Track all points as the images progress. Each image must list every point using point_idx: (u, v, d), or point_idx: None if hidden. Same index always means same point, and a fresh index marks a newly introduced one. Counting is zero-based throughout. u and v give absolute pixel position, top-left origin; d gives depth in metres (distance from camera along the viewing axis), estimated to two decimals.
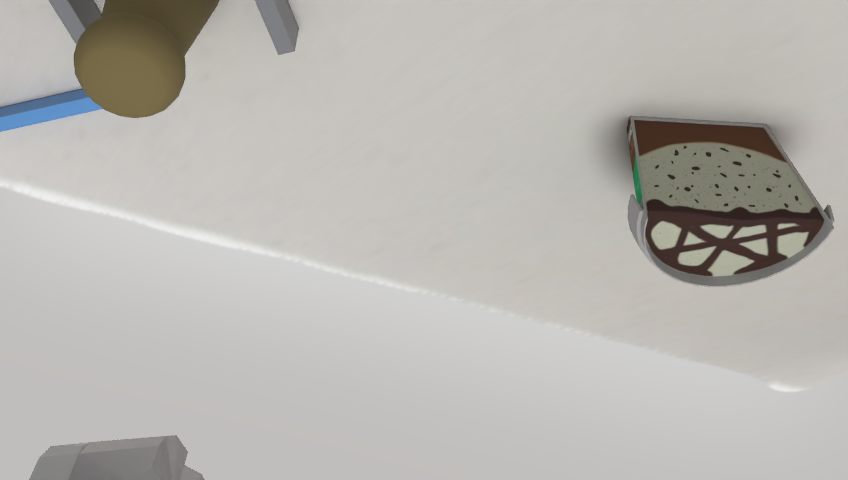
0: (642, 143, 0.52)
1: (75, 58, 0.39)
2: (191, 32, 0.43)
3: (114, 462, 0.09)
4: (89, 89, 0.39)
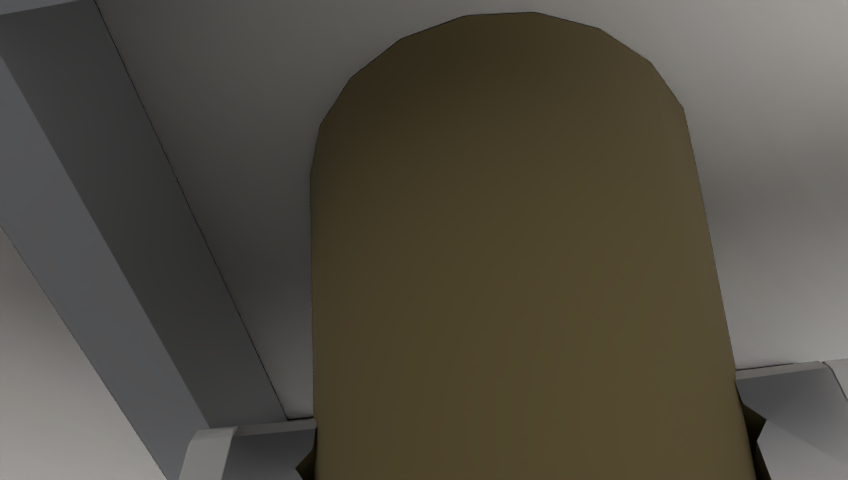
0: None
1: None
2: (600, 362, 0.07)
3: (271, 445, 0.09)
4: None
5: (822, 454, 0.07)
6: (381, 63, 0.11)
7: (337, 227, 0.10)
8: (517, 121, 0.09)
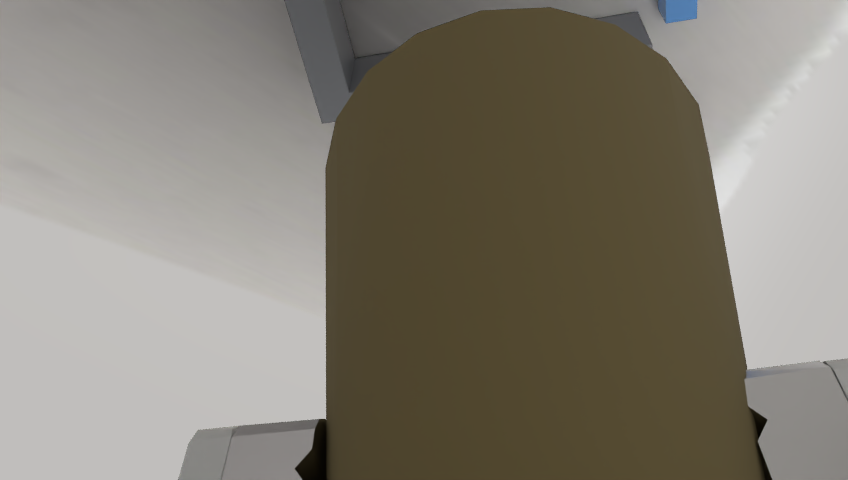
0: None
1: None
2: (610, 353, 0.07)
3: (270, 445, 0.09)
4: None
5: (824, 453, 0.07)
6: (397, 57, 0.11)
7: (351, 217, 0.10)
8: (531, 114, 0.10)
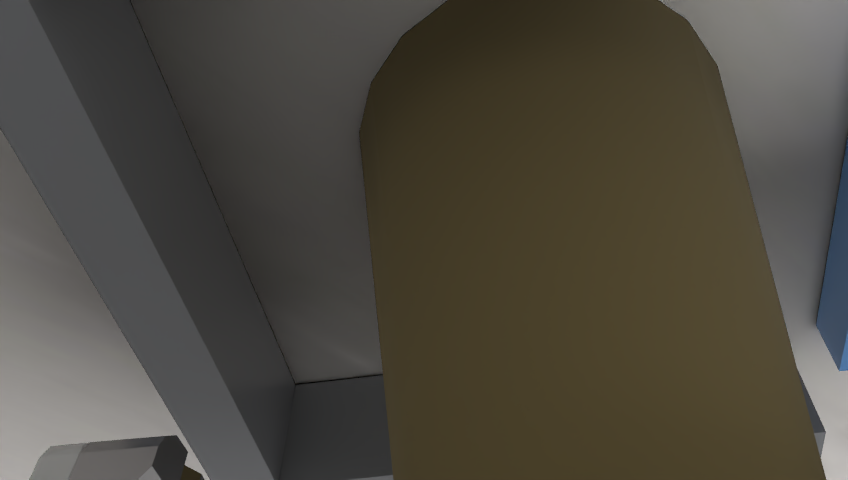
0: None
1: None
2: (660, 272, 0.08)
3: (114, 462, 0.09)
4: None
5: None
6: (432, 20, 0.12)
7: (396, 169, 0.11)
8: (568, 66, 0.10)
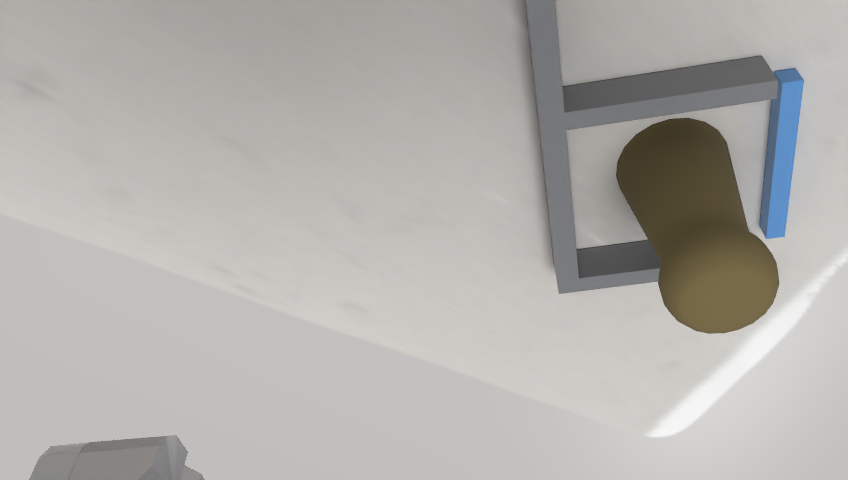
0: None
1: None
2: (716, 194, 0.39)
3: (114, 462, 0.09)
4: (722, 330, 0.37)
5: None
6: (647, 131, 0.43)
7: (644, 172, 0.42)
8: (690, 147, 0.41)
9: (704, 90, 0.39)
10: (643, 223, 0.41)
